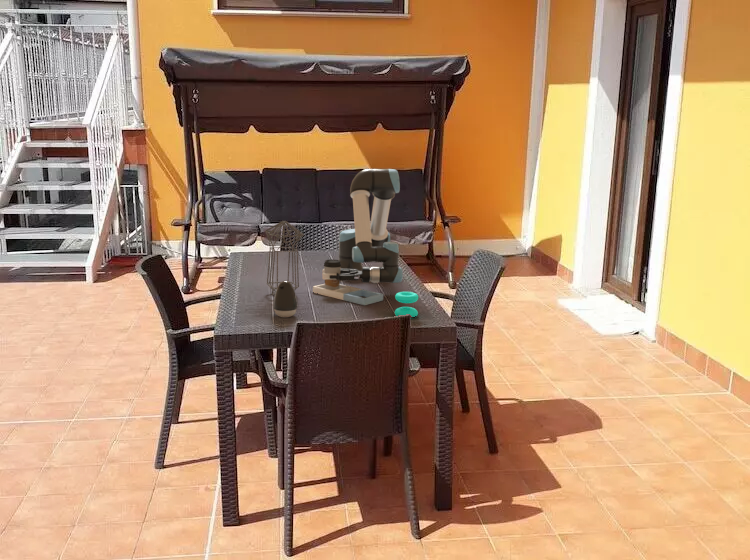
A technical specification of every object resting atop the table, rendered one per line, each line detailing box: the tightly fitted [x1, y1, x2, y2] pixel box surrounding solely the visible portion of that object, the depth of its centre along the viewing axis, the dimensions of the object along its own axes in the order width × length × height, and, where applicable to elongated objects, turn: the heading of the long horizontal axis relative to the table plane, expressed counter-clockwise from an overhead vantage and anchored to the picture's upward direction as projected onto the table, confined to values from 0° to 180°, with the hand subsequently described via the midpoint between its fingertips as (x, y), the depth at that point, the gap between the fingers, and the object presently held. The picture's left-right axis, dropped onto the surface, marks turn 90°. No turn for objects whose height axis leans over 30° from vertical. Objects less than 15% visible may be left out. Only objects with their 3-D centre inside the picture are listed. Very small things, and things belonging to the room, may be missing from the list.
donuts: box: [394, 291, 420, 318], centre depth 329 cm, size 10×10×10 cm
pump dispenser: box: [272, 280, 298, 318], centre depth 324 cm, size 10×10×15 cm
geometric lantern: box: [263, 220, 305, 297], centre depth 358 cm, size 16×16×35 cm
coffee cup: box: [323, 259, 341, 290], centre depth 366 cm, size 8×8×15 cm
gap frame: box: [312, 283, 384, 306], centre depth 361 cm, size 13×33×3 cm, turn 49°
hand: (322, 274), depth 365 cm, fingers closed on coffee cup, 8 cm apart
